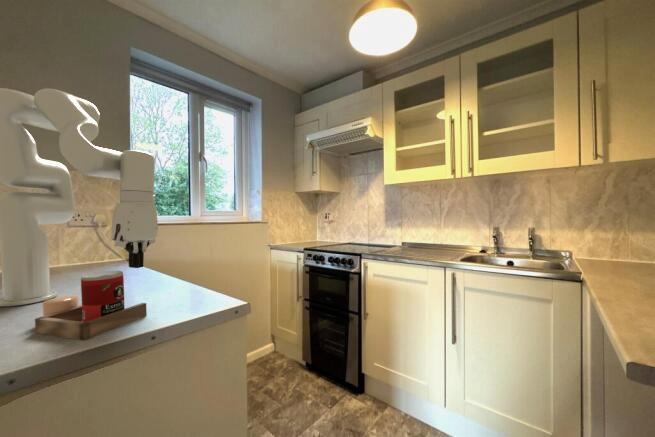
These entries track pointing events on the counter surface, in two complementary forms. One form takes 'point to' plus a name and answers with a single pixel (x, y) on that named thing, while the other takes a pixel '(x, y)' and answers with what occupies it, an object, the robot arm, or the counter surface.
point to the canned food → (101, 294)
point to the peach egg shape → (59, 304)
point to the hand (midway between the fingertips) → (136, 267)
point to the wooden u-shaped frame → (71, 327)
